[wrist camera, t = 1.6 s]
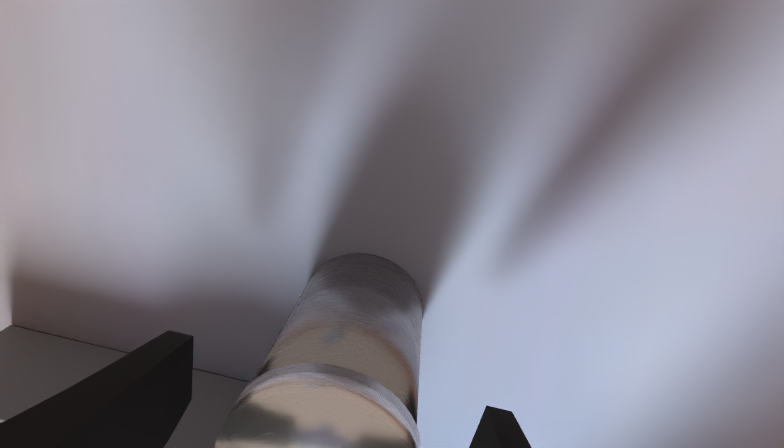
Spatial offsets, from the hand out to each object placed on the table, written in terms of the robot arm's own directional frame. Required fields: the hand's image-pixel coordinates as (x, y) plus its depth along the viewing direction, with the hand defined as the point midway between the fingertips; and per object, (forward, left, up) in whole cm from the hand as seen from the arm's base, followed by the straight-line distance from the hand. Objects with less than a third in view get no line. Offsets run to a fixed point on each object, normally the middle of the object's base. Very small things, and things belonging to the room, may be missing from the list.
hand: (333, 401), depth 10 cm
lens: (0, 0, -4) cm, 4 cm away
